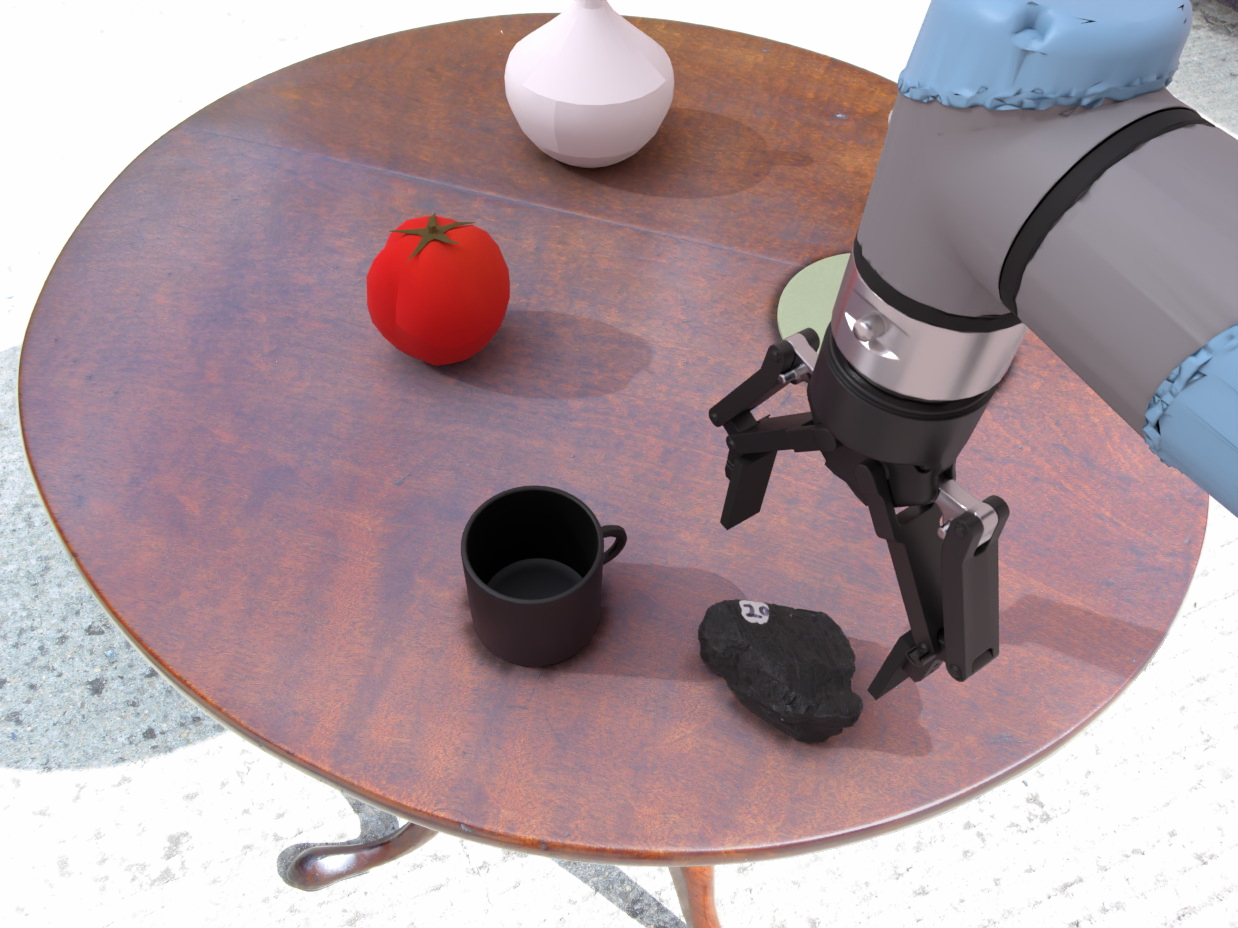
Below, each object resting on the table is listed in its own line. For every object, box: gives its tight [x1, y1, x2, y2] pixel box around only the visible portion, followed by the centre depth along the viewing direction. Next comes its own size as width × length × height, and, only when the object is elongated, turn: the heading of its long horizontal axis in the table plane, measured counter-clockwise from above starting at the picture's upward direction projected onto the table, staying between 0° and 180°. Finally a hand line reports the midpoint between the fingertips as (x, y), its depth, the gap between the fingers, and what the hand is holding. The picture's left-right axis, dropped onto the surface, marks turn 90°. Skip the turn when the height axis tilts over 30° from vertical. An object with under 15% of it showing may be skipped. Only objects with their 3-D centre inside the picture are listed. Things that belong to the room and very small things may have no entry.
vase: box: [503, 0, 675, 169], centre depth 98 cm, size 18×18×19 cm
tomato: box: [365, 212, 511, 367], centre depth 79 cm, size 12×12×13 cm
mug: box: [460, 484, 628, 667], centre depth 64 cm, size 9×12×9 cm
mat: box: [776, 252, 851, 354], centre depth 88 cm, size 22×22×1 cm
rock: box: [697, 598, 864, 744], centre depth 62 cm, size 9×10×6 cm
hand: (809, 595), depth 56 cm, fingers open, 13 cm apart
